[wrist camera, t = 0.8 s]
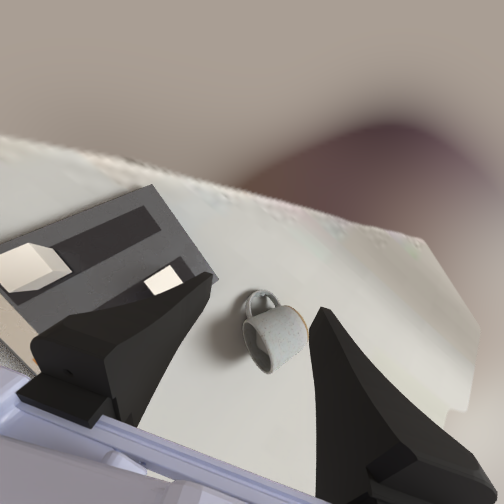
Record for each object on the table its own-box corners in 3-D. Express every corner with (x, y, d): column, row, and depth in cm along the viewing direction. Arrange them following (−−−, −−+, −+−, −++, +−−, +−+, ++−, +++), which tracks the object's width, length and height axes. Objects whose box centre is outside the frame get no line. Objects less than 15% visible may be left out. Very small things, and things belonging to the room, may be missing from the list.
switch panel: (69, 389, 20) (59, 402, 18) (-46, 272, 17) (-72, 272, 15) (215, 279, 28) (219, 279, 26) (152, 190, 26) (152, 183, 24)
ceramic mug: (288, 338, 33) (320, 353, 26) (250, 361, 29) (276, 386, 22) (271, 283, 33) (299, 283, 26) (231, 299, 29) (252, 305, 23)
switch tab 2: (161, 299, 23) (161, 303, 19) (146, 280, 22) (143, 281, 19) (182, 284, 24) (185, 286, 21) (168, 266, 23) (169, 265, 20)
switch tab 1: (37, 289, 18) (8, 292, 15) (15, 265, 17) (-20, 262, 14) (72, 271, 19) (53, 271, 16) (52, 248, 19) (28, 242, 15)
